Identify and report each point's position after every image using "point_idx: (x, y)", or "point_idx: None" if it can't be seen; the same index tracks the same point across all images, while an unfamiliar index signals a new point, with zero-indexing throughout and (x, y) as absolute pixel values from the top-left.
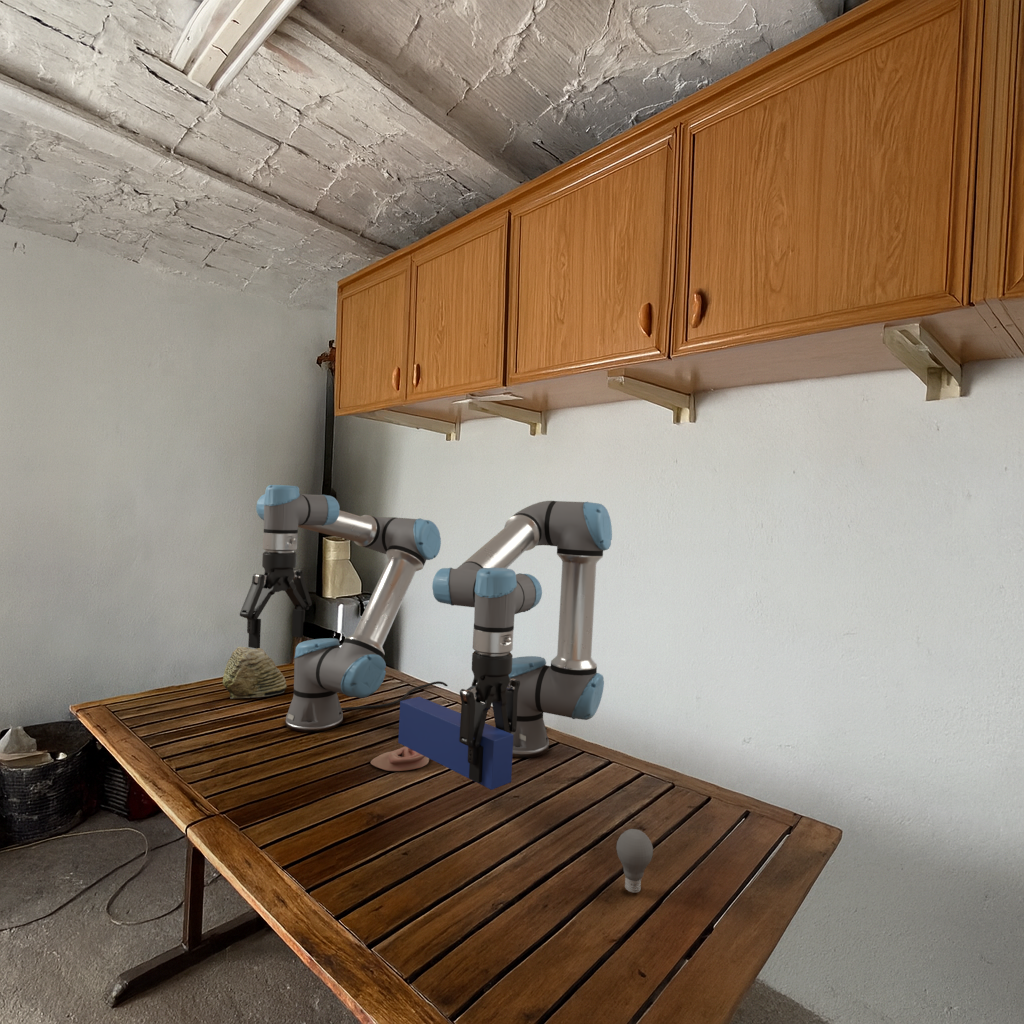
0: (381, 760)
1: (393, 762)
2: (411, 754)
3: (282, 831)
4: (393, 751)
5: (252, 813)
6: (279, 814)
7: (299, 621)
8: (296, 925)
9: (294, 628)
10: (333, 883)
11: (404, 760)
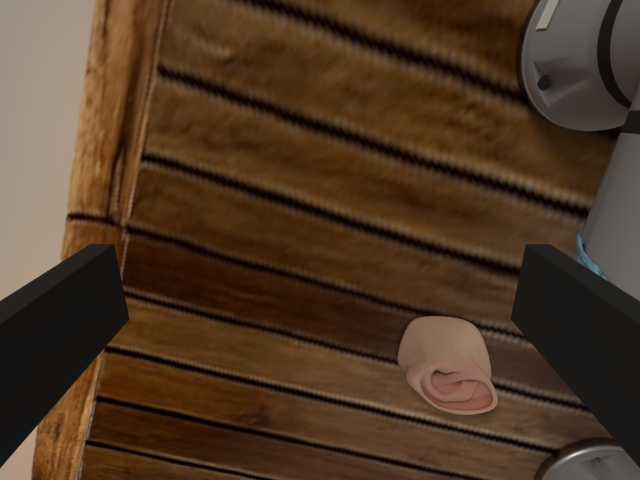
0: (416, 345)
1: (406, 376)
2: (454, 382)
3: (152, 344)
4: (442, 361)
5: (158, 272)
6: (183, 308)
7: (591, 388)
8: (44, 464)
9: (557, 295)
10: (114, 454)
11: (417, 392)
